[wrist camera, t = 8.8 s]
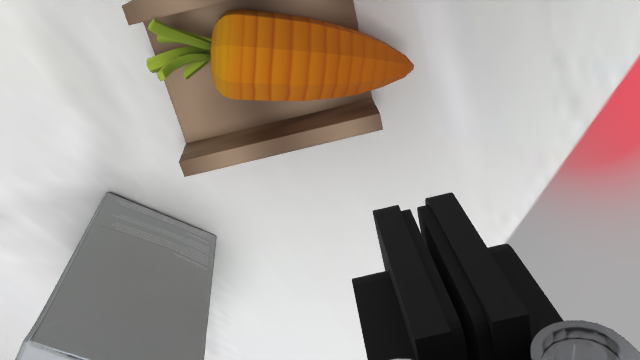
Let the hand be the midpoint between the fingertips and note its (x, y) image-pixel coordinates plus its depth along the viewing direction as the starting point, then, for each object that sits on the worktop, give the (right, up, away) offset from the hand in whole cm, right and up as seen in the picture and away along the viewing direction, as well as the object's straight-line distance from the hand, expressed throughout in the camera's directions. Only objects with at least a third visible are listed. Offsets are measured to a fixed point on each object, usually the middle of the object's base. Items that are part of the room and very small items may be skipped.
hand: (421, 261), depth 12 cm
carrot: (+3, +8, +21) cm, 22 cm away
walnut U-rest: (-6, +9, +23) cm, 25 cm away
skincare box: (-14, -3, +28) cm, 31 cm away
